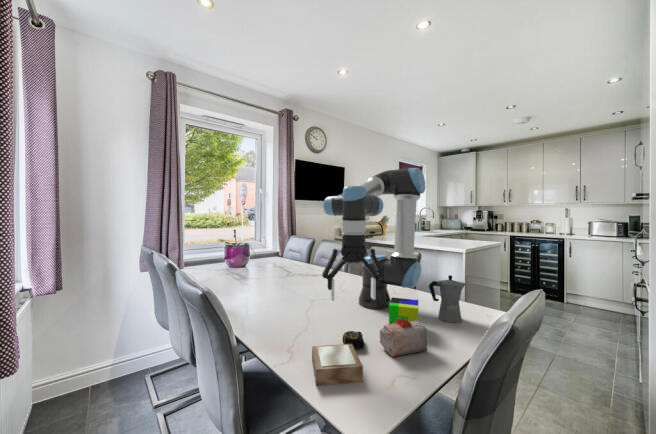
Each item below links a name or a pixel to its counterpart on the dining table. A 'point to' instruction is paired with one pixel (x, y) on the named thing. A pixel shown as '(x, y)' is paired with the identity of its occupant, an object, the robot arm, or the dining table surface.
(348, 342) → the tape measure
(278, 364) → the dining table surface
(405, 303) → the puzzle toy
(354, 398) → the dining table surface
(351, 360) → the base block
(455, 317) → the coffeepot
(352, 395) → the dining table surface
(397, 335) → the food item
